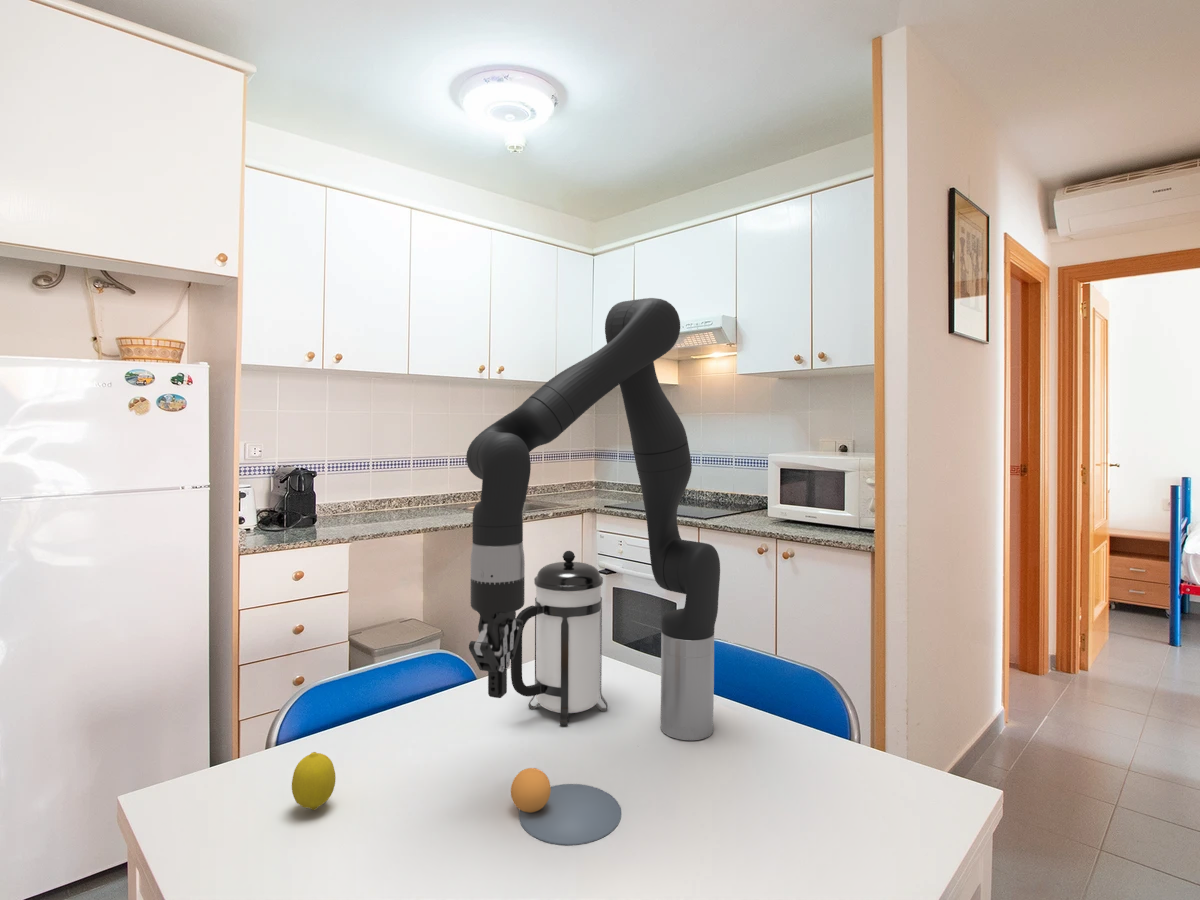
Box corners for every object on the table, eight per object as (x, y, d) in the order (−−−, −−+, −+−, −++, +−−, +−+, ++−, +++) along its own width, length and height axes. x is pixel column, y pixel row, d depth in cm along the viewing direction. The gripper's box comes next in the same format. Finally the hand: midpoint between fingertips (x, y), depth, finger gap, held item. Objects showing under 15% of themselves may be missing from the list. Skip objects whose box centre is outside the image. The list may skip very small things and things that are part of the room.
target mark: (542, 778, 99) (542, 777, 99) (632, 794, 95) (632, 793, 95) (501, 833, 86) (501, 831, 86) (604, 854, 82) (604, 852, 82)
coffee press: (533, 690, 132) (533, 542, 131) (612, 695, 130) (613, 545, 129) (509, 729, 115) (509, 559, 114) (600, 736, 113) (601, 562, 112)
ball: (548, 756, 93) (564, 794, 92) (521, 764, 95) (536, 801, 94) (524, 777, 88) (541, 817, 87) (496, 785, 91) (512, 824, 90)
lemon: (319, 823, 88) (319, 764, 87) (283, 818, 89) (282, 760, 89) (343, 800, 93) (343, 745, 93) (308, 796, 94) (308, 741, 94)
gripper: (501, 586, 85) (501, 718, 86) (540, 566, 98) (540, 681, 98) (449, 582, 87) (450, 711, 88) (494, 563, 100) (494, 675, 101)
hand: (497, 695), depth 93 cm, fingers closed
